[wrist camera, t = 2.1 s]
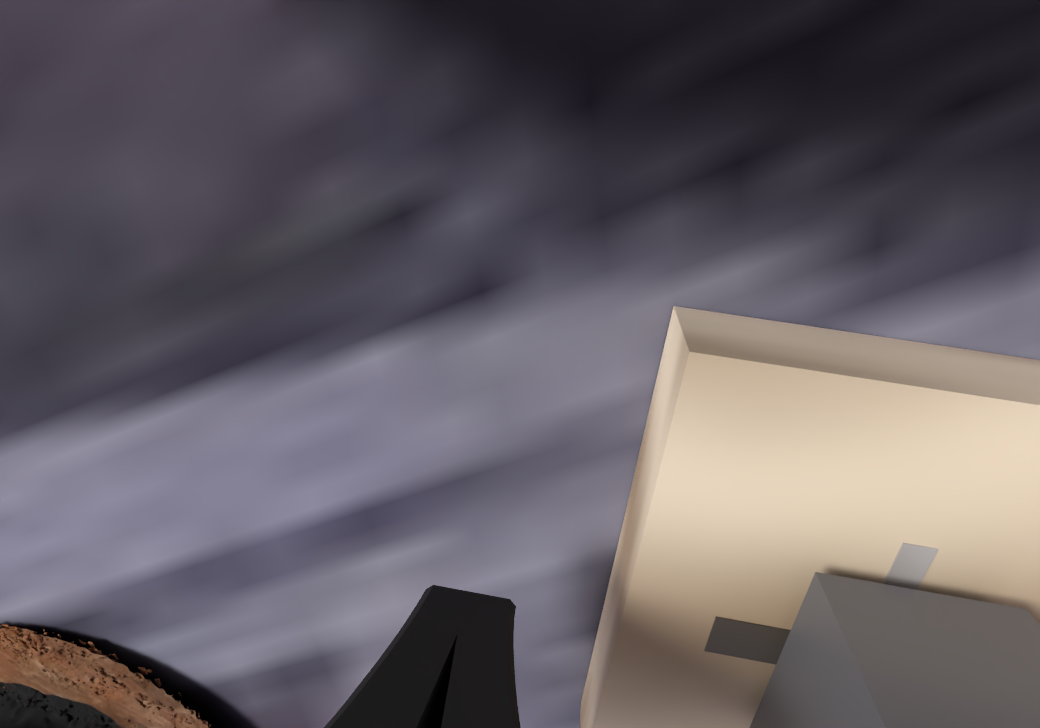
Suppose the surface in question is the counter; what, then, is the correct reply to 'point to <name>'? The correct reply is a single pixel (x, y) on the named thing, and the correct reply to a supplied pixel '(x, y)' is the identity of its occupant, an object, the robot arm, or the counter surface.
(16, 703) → the skull
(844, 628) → the fader knob
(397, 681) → the robot arm
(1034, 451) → the slider board
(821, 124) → the counter surface
